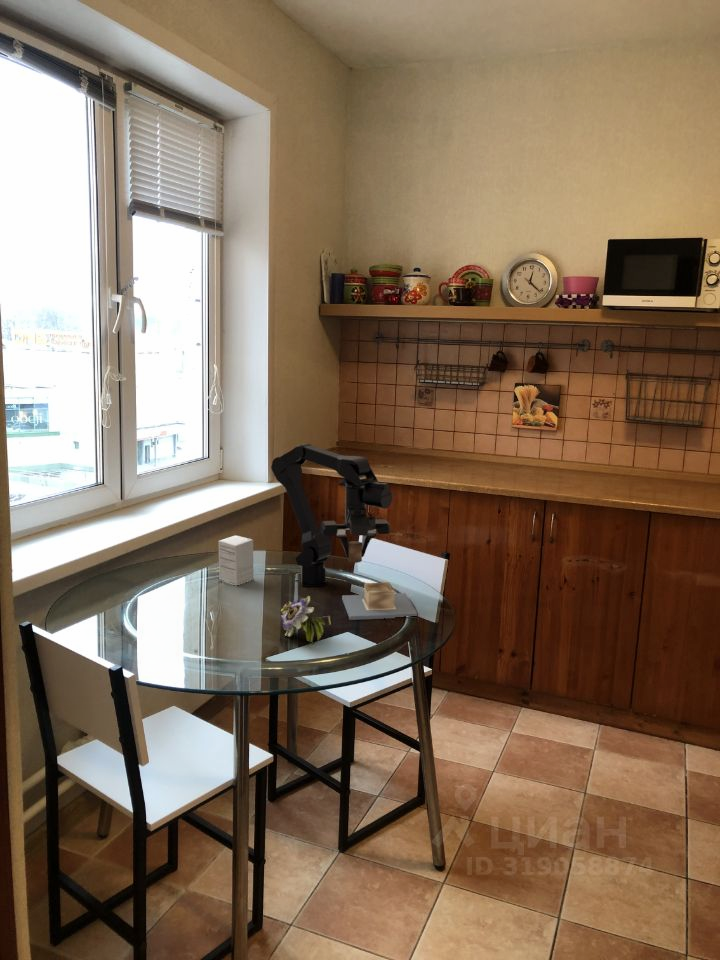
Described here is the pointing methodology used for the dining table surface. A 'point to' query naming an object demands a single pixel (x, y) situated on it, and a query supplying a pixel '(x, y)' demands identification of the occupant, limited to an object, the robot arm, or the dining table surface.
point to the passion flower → (301, 619)
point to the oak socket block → (379, 595)
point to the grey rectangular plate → (360, 610)
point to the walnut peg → (354, 551)
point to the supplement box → (236, 560)
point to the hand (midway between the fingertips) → (354, 556)
